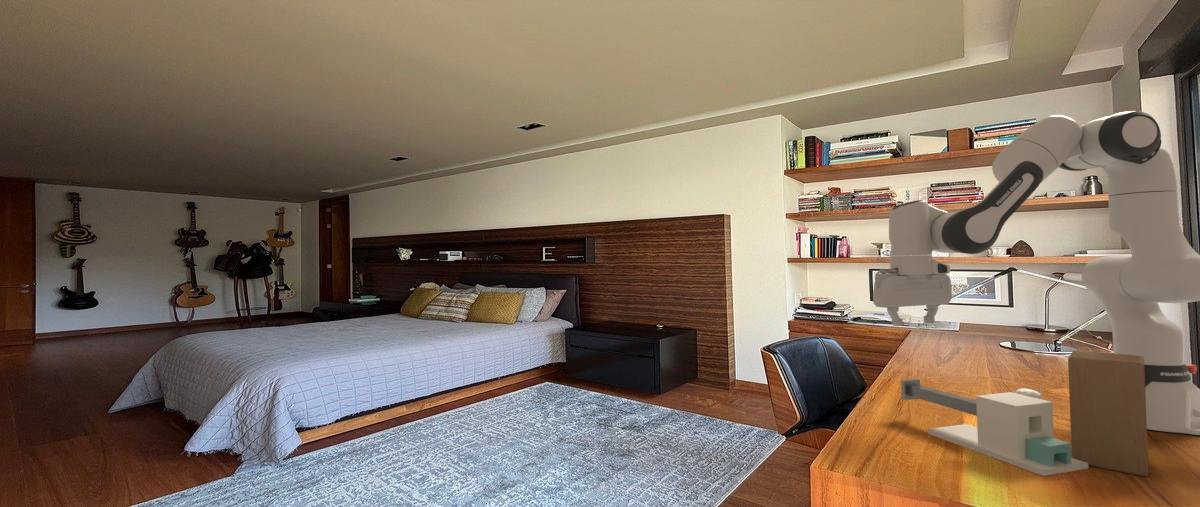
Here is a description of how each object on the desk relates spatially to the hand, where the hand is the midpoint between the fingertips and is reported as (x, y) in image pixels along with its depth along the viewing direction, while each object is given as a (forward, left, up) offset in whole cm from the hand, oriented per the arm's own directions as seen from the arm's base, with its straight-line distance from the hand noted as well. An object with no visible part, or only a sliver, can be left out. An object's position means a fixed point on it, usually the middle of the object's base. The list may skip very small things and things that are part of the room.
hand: (913, 324), depth 125 cm
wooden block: (-12, +31, -23) cm, 41 cm away
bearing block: (0, +20, -23) cm, 31 cm away
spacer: (0, +30, -20) cm, 36 cm away
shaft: (0, +11, -18) cm, 21 cm away
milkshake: (-18, +13, -23) cm, 32 cm away
